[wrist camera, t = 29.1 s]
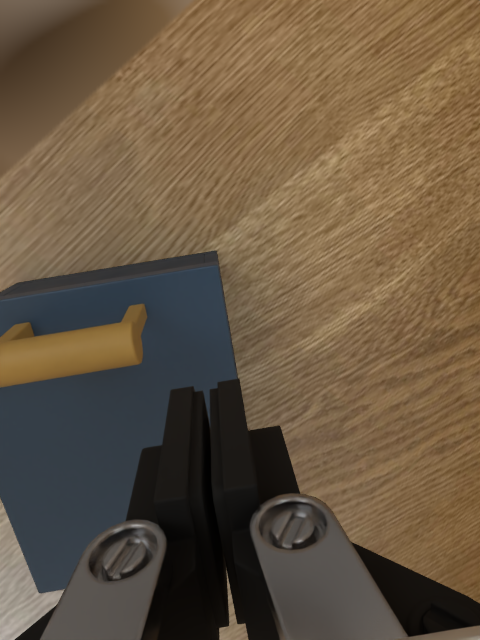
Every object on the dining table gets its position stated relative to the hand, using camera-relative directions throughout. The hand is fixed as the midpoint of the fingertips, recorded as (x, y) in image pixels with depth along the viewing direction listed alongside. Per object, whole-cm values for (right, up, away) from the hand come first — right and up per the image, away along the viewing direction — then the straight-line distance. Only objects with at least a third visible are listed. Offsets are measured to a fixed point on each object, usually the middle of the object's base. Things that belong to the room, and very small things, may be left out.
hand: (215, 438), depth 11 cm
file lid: (-5, -3, +12) cm, 14 cm away
